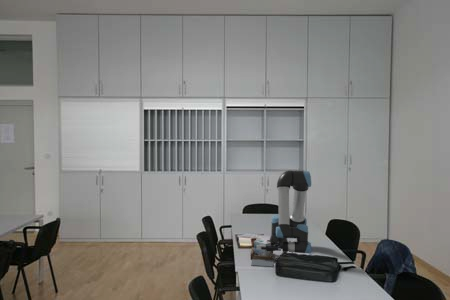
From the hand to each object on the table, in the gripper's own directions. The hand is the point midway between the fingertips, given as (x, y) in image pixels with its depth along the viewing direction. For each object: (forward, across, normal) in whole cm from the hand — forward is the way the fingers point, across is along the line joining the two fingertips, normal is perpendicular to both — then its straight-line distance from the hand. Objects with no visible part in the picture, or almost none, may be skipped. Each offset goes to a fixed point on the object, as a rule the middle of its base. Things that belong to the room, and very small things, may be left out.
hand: (256, 244), depth 245 cm
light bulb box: (-4, 0, -8) cm, 9 cm away
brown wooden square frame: (-4, 0, -8) cm, 9 cm away
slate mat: (-4, -14, -8) cm, 17 cm away
